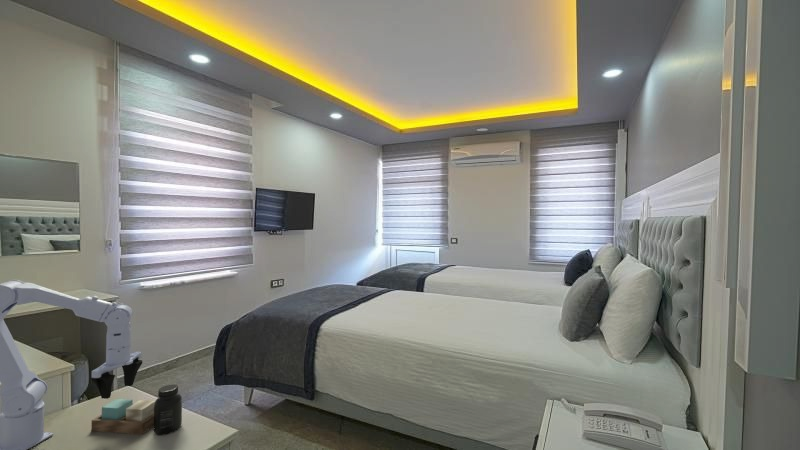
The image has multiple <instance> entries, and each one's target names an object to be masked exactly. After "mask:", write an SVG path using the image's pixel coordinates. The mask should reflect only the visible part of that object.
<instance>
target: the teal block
mask: <svg viewBox="0 0 800 450" xmlns="http://www.w3.org/2000/svg"><path fill="white" fill-rule="evenodd" d="M133 404H134V403H133V398H132V399H131V398H130V399H129V398H128V399H127V398H115V399H114V400H112V401H111V402H109V403H107V404H105V405H104V406H102V407H101V415H102V419H107V420H119V419H121V418H122V417H124V416H126V408H128V407H130V406H131V405H133Z"/></svg>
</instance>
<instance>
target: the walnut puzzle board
mask: <svg viewBox="0 0 800 450" xmlns="http://www.w3.org/2000/svg"><path fill="white" fill-rule="evenodd" d="M155 401H156V400H149V399H147V400H146V399H139V400H138V401H136V402H135V403H133V404H132V405H131V406H130V407H128V408H126V416H124V417H122V418H121V419H119V420H107V419H102V414H100V415H98V416H96V417H95V418H93V419H92V420H91V431H93V432H103V433H104V432H105V433H106V432H107V433H118V434H119V433H120V434H121V433H123V434H135V435H143V434H145V433H146V432H147V431H149V430H150V429H152V427H153V428H154V403H155Z"/></svg>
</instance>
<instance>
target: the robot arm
mask: <svg viewBox="0 0 800 450" xmlns="http://www.w3.org/2000/svg"><path fill="white" fill-rule="evenodd" d="M30 303H40V304H44V305H45V304H46V305H50V306H54V307H58V308H63V309H67V310H71V311H73V313H74V315H75V316H76V317H78V318H79V317H80V318H84V319H87V320H92V321H96V322H99V323H104V324H105V325H106V327H107V330H106V331H107V332H106V338H105V339H106V340H105V341H106V342H105V343H106V344H105V346H106V347H105V349H106V350H105V362H104V363H102V364H101V365H100V366H98V367H97V368H95V369H93V370H91V377H90V378H91V381H92V382H93V383H94V384H95V385H96V387H97V389H98V391H99V395H100V397H101V399H105V400H106V399H110V398H111V396H112V386H113V382H114V379H115V377H116V374H111V373H109V372H112V371H114V370H117V369H118V368H120V367H121V369H122V370H123V372H122V373H123V383H124V386H125V387H132V386H133V385H134V383H135V378H136V376H137V373H138V372H139V369H140V368H141V366H142V364H143V360H142V351H135V352H132V350H131V348H132V328H131V327H132V324H131V319H132V317H133V313H134V311H133V309H132V307H131V306H129V305H127V304H126V303H119V304H118V302H115V301H113V302H110V301H105V300H103V299H100V297H99V296H98V295H93V296H84V297H82V298H78V297H75V296H72V295H70V294H66V293H63V292H60V291H56V290H54V289H50V288H47V287H44V286H42V285H38V284H36V283H34V282H25V281H22V280H19V279H9V280H6V281H4V282H2V283H0V383H1V384H0V400H1V404H0V411H1V413H0V450H28V449H30V448H33V447H34V446H36V445H37V444H39V443H41V442H44V441H45V440H47V439H49V438H50V437H52V436H53V435H54V433H53V432H45V401H43V397H44V396H45V395H46V393H47V391H48V389H49V387H48V384H47V383H46V381H45V380H43V379H41V378H39V376H38V375H37V373H36V372H35V371H31V370H30V369H29V367H28V365H27V363H26V361H25V359H24V357H23V356H22V353H21V352H20V349H19V347H18V346H17V343H16V341H15V340H14V338H13V335H12V334H11V332H10V330H9V328H8V325H7V324H6V322H5V320H4V319H5V318H6V316H7V315H8V314H9V313H10V312H11V310H12V309H13V308H14V307H15V306H16V305H17V306H19V305H25V304H30Z"/></svg>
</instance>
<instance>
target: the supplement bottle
mask: <svg viewBox="0 0 800 450" xmlns="http://www.w3.org/2000/svg"><path fill="white" fill-rule="evenodd" d="M154 401H155V403H154V426H153V433H154V434H155V435H158V436H164V435H165V436H166V435H169V434H173V433H175V432H176V431H178V430H179V429H180V428H181V426H182V425H183V424H182V422H183V421H182V420H183V418H182V417H183V397H182V395H181V394H180V393H179V385H178V384H174V383H173V384H168V385H164V386H161V387H160V388H159V389H158V394H157V398H156V400H154Z"/></svg>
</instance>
